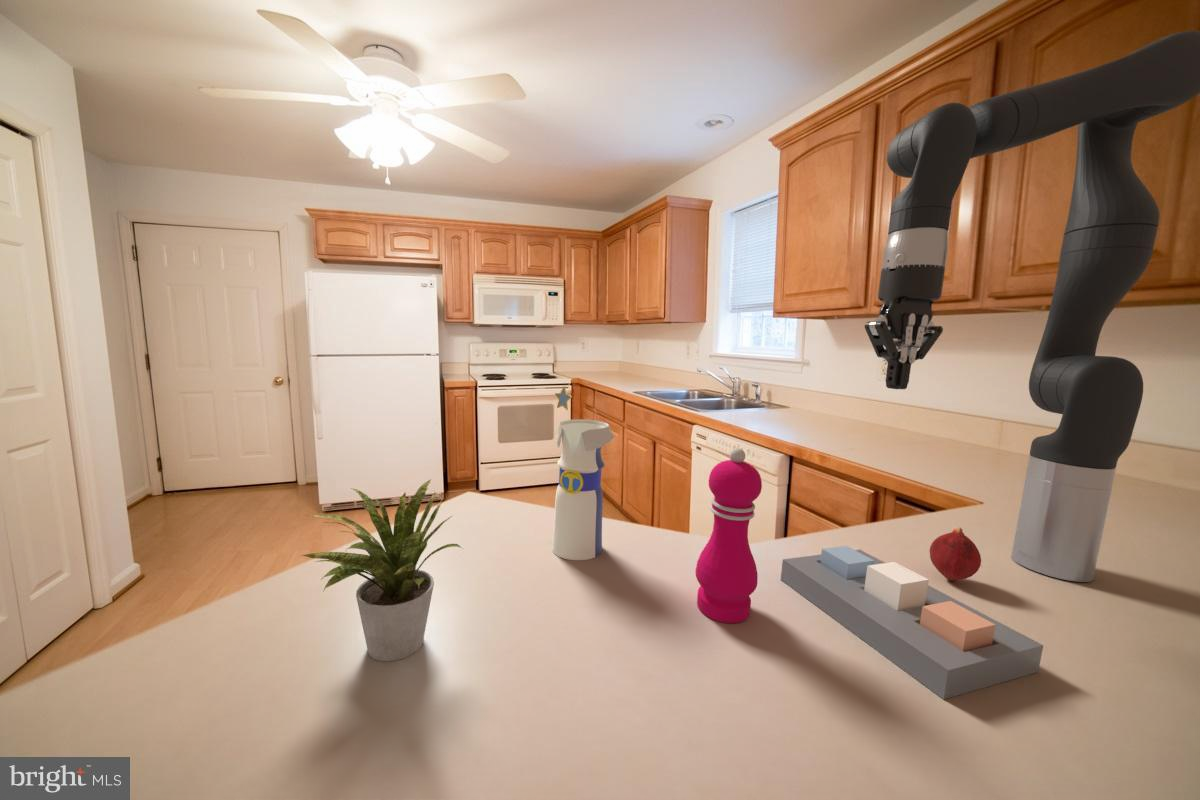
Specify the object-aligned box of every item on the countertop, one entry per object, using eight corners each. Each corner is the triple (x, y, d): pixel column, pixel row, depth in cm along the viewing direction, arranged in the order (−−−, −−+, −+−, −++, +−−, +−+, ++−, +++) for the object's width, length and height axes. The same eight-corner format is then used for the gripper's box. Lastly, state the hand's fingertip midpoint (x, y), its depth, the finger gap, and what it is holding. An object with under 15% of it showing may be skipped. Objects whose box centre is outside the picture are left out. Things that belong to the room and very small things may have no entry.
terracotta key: (945, 634, 51) (950, 600, 51) (989, 660, 47) (995, 624, 47) (917, 640, 50) (922, 606, 49) (959, 668, 46) (966, 631, 45)
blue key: (843, 572, 64) (846, 545, 64) (870, 589, 60) (874, 560, 60) (818, 576, 63) (821, 548, 62) (844, 593, 59) (848, 564, 58)
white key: (889, 591, 58) (893, 561, 57) (923, 611, 53) (928, 579, 53) (863, 596, 56) (867, 565, 56) (896, 617, 52) (901, 584, 52)
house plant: (358, 596, 54) (356, 462, 52) (477, 598, 55) (480, 466, 53) (282, 687, 40) (275, 507, 38) (443, 688, 41) (445, 512, 38)
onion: (986, 594, 62) (995, 538, 61) (938, 587, 63) (947, 533, 62) (961, 573, 68) (970, 522, 67) (918, 568, 69) (926, 517, 68)
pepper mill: (754, 599, 58) (770, 445, 55) (753, 633, 51) (772, 459, 48) (696, 587, 60) (709, 438, 57) (688, 617, 53) (703, 450, 51)
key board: (857, 568, 68) (859, 549, 67) (1038, 671, 47) (1043, 645, 47) (780, 579, 63) (782, 559, 63) (943, 699, 42) (948, 670, 42)
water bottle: (594, 567, 64) (604, 390, 61) (540, 554, 67) (546, 385, 63) (613, 544, 71) (622, 386, 68) (563, 533, 74) (570, 381, 71)
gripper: (919, 274, 70) (904, 386, 72) (854, 265, 66) (840, 385, 68) (973, 268, 63) (954, 392, 65) (903, 257, 58) (885, 391, 61)
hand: (895, 388), depth 66 cm, fingers closed
